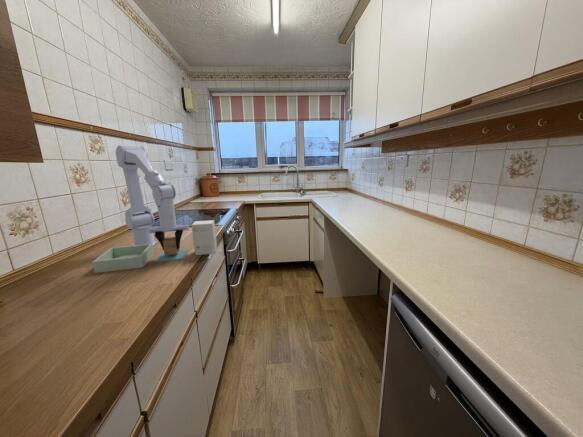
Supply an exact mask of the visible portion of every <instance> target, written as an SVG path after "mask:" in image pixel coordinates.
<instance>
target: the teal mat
mask: <svg viewBox="0 0 583 437" xmlns="http://www.w3.org/2000/svg"><path fill="white" fill-rule="evenodd" d="M187 254H188V249H182V250H180V249H179V251H178V253H177V254H173V255H165V254H164V251H161V253H160V254H159V256H158V257H157V259H155V263H163V262H170V261H171V262H172V261H180V260H185V258H186V256H187Z"/></svg>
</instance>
